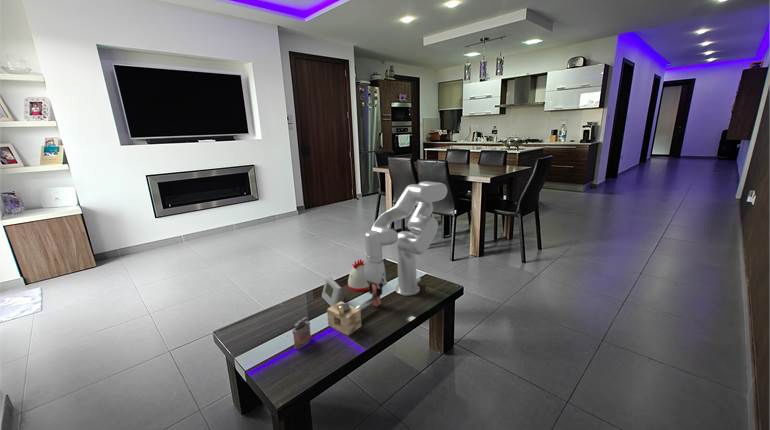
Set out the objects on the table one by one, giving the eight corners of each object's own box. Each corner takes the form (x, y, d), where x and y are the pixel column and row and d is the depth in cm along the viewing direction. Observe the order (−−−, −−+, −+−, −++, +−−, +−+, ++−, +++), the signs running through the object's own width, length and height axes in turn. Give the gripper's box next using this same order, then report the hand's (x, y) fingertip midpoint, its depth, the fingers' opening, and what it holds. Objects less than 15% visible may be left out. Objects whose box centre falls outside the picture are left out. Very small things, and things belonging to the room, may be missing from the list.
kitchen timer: (343, 284, 176) (341, 259, 172) (364, 277, 183) (363, 253, 180) (356, 294, 165) (355, 267, 161) (378, 286, 173) (377, 260, 169)
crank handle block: (349, 305, 138) (349, 294, 136) (347, 318, 128) (347, 307, 126) (338, 305, 138) (337, 295, 136) (335, 319, 127) (334, 308, 126)
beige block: (342, 317, 144) (340, 301, 142) (361, 326, 136) (360, 309, 134) (328, 325, 138) (327, 308, 136) (347, 335, 130) (346, 318, 128)
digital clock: (321, 296, 163) (319, 277, 161) (338, 293, 166) (337, 274, 164) (327, 312, 149) (325, 291, 146) (346, 308, 151) (344, 287, 149)
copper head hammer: (376, 301, 155) (375, 280, 152) (381, 304, 153) (380, 282, 150) (348, 319, 141) (346, 295, 138) (354, 322, 139) (352, 298, 136)
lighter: (298, 350, 123) (295, 327, 120) (292, 347, 124) (289, 324, 122) (313, 338, 129) (311, 316, 127) (307, 336, 131) (305, 314, 129)
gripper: (355, 256, 149) (357, 292, 154) (382, 264, 139) (384, 302, 143) (366, 251, 155) (368, 286, 159) (393, 259, 144) (394, 295, 149)
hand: (376, 293), depth 151 cm, fingers closed on copper head hammer, 3 cm apart
